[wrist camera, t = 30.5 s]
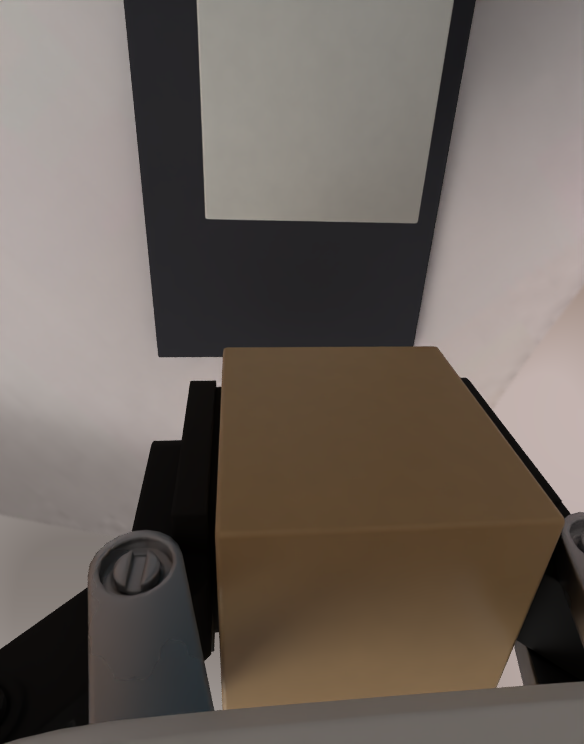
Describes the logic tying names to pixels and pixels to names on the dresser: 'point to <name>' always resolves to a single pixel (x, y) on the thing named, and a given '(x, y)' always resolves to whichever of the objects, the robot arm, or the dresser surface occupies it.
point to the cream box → (319, 107)
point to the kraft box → (367, 528)
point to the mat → (266, 221)
